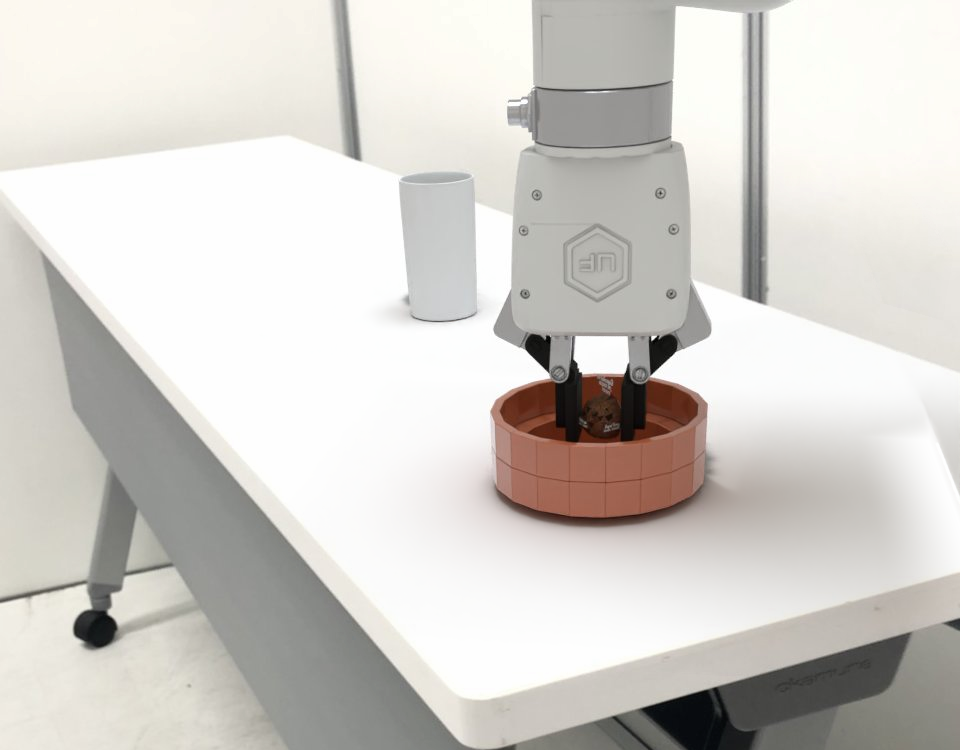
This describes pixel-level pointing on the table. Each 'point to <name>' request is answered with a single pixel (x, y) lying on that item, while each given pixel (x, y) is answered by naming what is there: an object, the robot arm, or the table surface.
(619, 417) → the chocolate
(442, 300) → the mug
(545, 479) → the bowl
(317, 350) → the table surface
